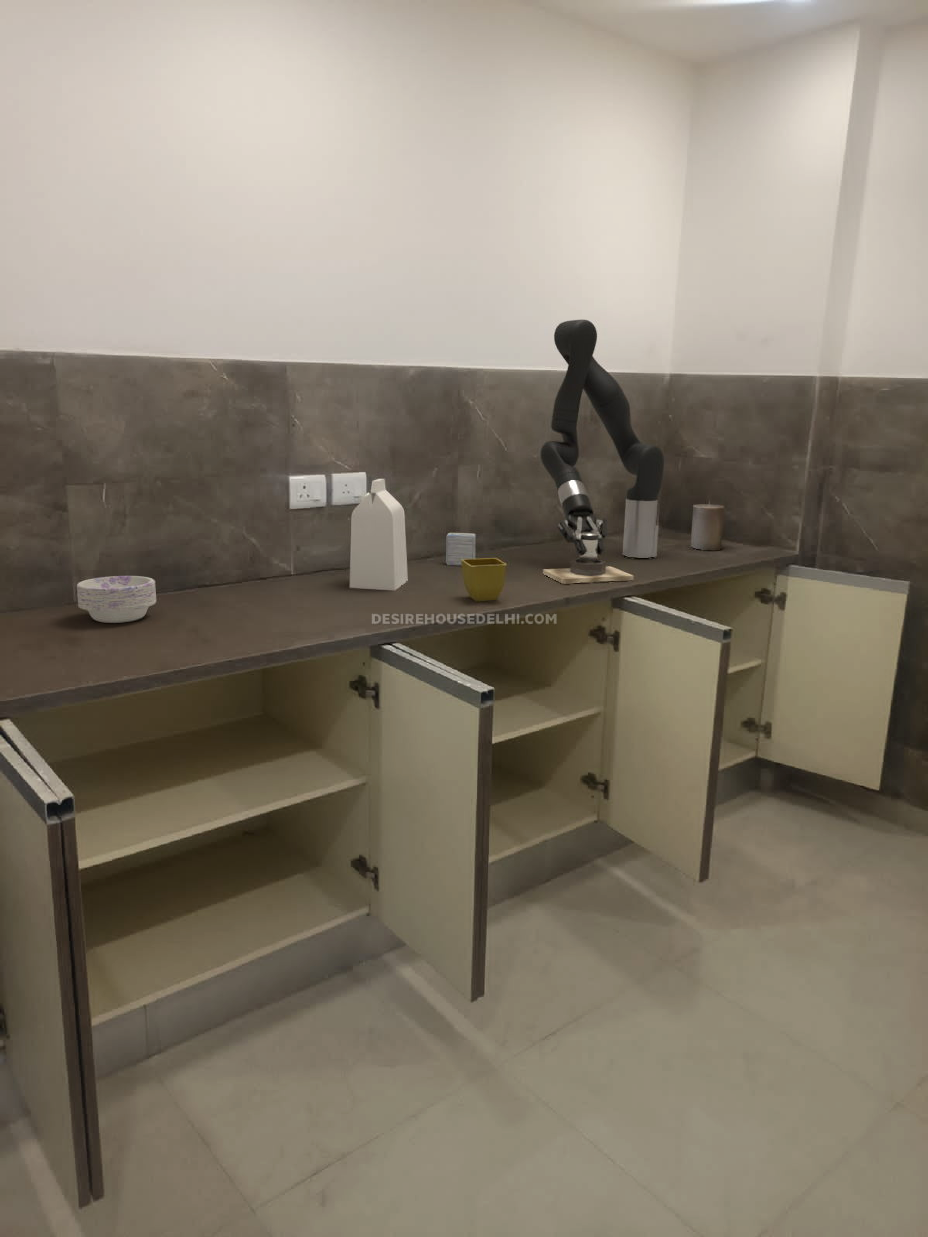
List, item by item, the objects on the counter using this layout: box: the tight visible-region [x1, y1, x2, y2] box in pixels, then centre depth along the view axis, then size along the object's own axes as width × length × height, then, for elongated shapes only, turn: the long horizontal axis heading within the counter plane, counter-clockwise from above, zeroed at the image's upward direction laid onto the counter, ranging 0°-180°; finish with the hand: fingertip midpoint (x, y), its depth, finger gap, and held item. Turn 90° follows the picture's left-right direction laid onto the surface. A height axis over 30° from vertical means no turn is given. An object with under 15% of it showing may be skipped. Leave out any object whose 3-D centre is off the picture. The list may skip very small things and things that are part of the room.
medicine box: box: [445, 532, 477, 566], centre depth 248 cm, size 8×4×9 cm, turn 84°
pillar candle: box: [690, 501, 725, 552], centre depth 281 cm, size 10×10×15 cm
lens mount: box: [542, 558, 634, 584], centre depth 233 cm, size 20×13×4 cm, turn 108°
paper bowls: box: [76, 575, 157, 624], centre depth 183 cm, size 15×15×8 cm
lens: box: [579, 531, 599, 564], centre depth 231 cm, size 5×5×9 cm
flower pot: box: [461, 557, 508, 602], centre depth 206 cm, size 9×9×9 cm
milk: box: [349, 478, 409, 591], centre depth 218 cm, size 12×12×26 cm
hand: (591, 553), depth 230 cm, fingers closed on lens, 4 cm apart
